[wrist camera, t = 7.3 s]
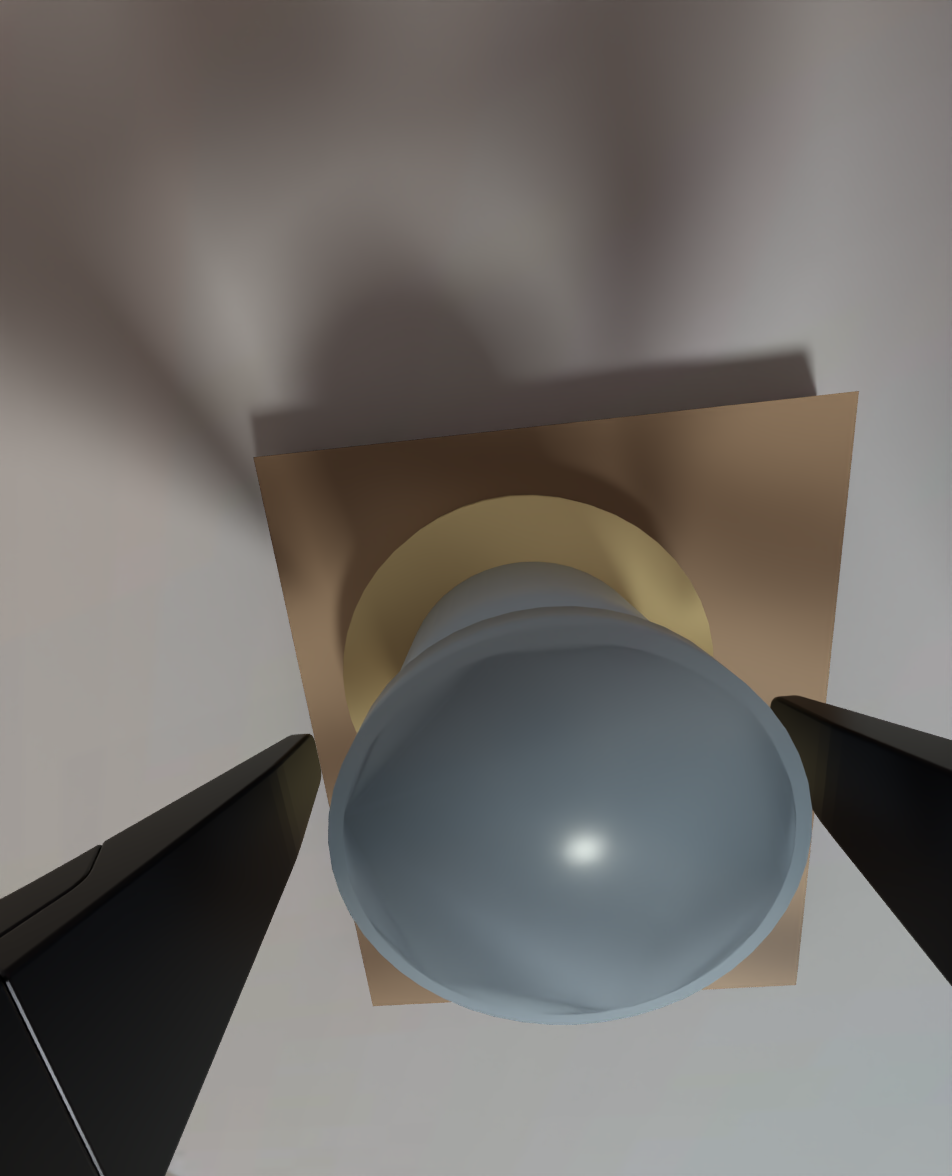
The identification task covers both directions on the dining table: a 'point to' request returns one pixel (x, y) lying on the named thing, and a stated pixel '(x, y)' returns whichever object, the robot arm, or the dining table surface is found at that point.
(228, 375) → the dining table surface
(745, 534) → the base
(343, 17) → the dining table surface
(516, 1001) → the cap
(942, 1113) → the dining table surface
